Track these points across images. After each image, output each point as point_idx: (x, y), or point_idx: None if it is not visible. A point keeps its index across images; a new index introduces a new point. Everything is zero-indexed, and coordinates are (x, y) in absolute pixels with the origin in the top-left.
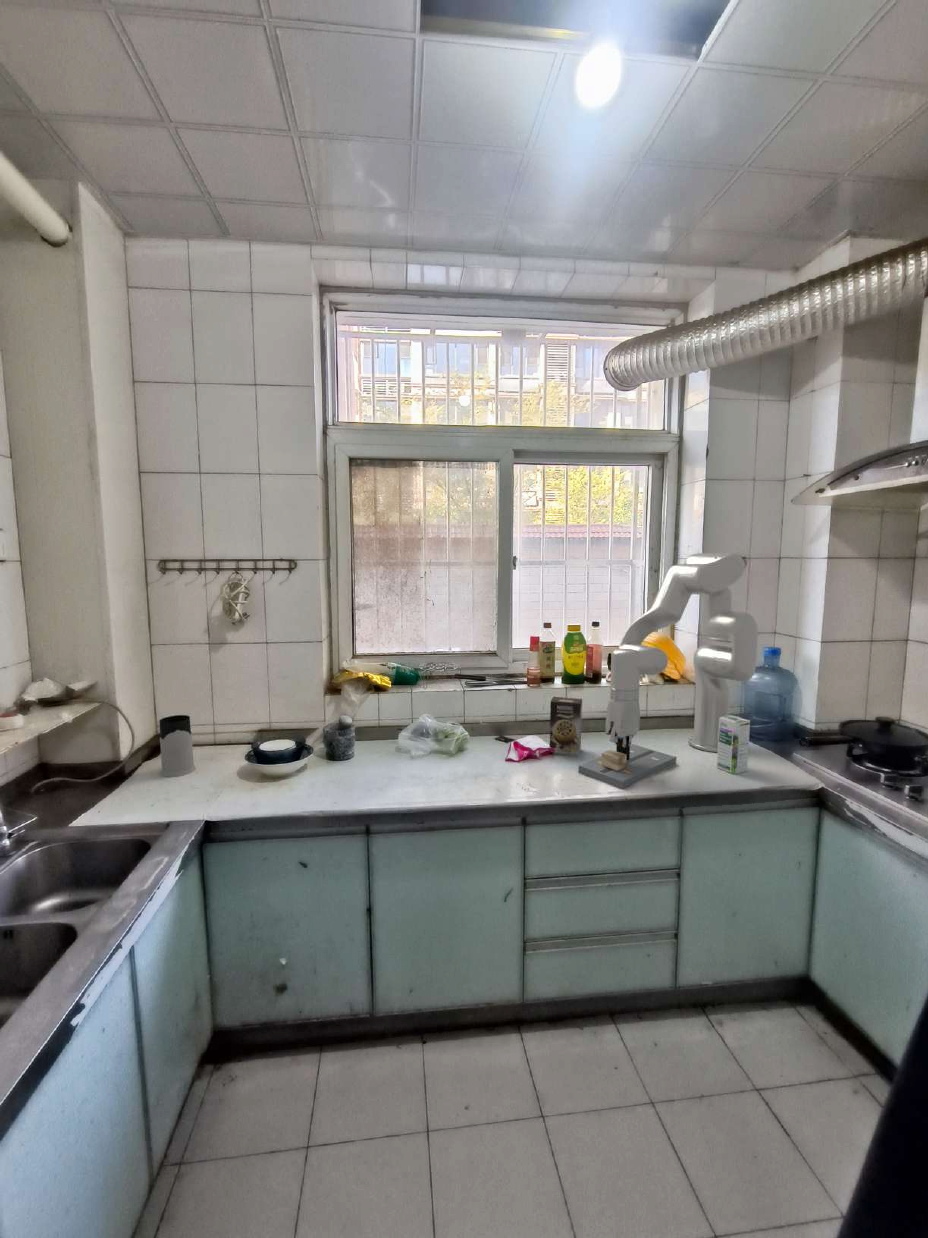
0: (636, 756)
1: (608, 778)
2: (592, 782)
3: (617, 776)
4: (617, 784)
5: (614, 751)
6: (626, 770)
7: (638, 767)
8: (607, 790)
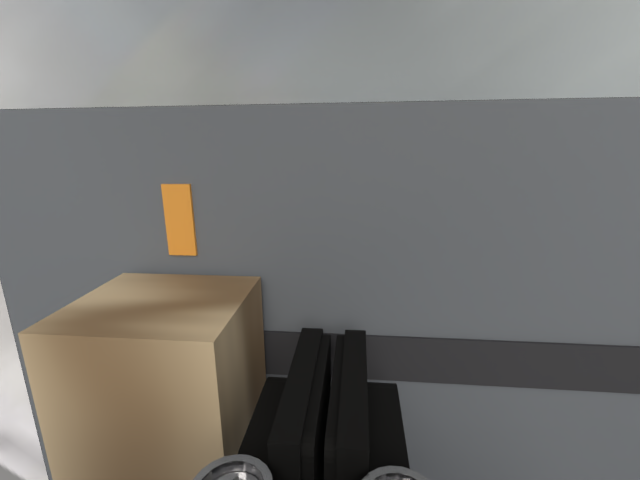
0: (605, 357)
1: None
2: (3, 296)
3: None
4: None
5: (192, 411)
6: None
7: None
8: (8, 418)
